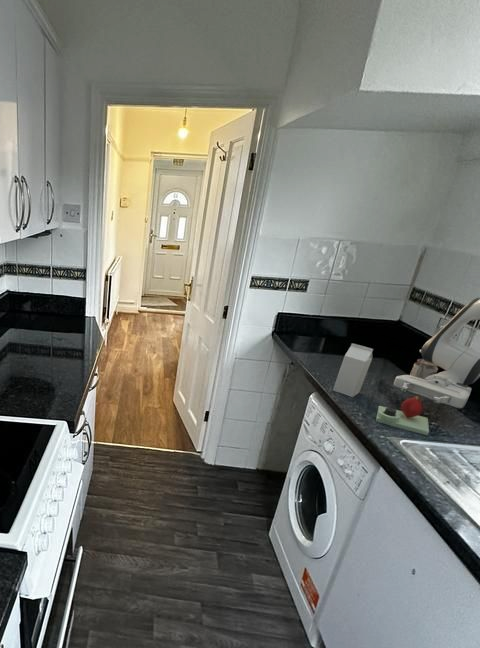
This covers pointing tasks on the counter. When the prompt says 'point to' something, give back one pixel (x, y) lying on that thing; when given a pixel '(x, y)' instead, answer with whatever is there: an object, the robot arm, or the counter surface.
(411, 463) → the counter surface
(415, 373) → the french press
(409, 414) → the onion
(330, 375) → the counter surface
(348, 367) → the milk carton
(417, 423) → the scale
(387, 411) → the tare button
